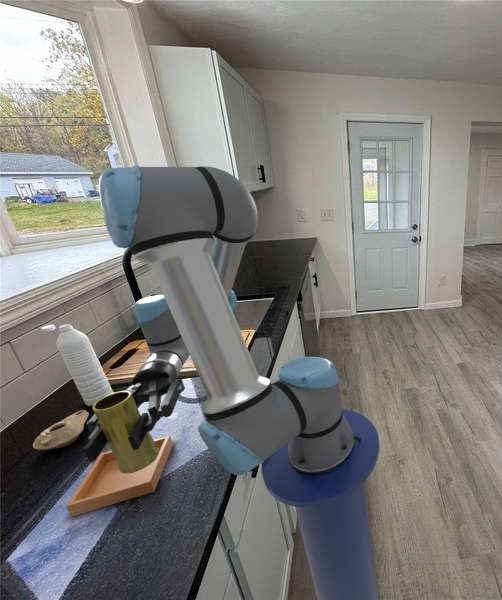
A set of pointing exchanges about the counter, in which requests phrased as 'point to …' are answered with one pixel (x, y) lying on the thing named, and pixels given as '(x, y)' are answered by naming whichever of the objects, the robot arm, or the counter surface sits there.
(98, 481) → the wooden tray
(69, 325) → the water bottle
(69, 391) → the counter surface
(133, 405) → the vase
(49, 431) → the pottery oil lamp
